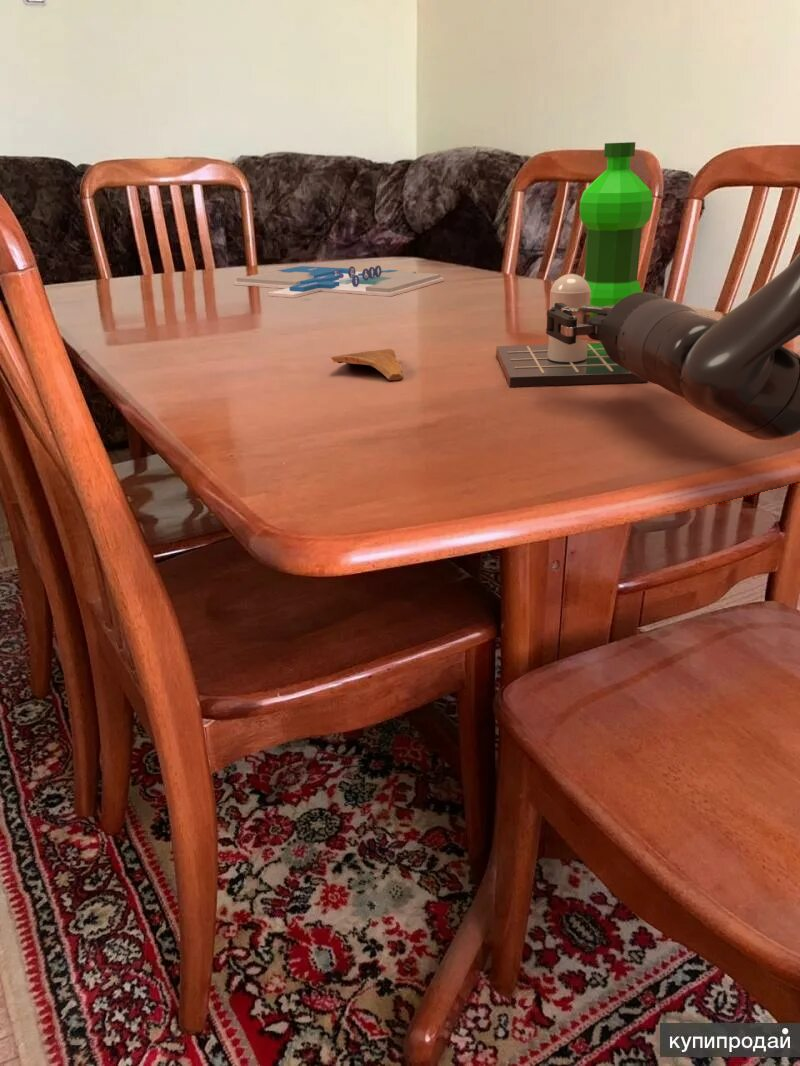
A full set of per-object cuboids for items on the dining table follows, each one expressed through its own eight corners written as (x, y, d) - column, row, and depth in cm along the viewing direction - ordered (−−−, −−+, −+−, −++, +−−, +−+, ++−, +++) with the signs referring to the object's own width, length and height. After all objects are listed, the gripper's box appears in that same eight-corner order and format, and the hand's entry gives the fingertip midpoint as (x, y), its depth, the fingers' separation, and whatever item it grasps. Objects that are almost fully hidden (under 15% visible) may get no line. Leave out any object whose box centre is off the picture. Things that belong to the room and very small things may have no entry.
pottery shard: (400, 382, 100) (400, 362, 99) (326, 381, 101) (324, 361, 100) (413, 361, 109) (413, 342, 108) (345, 360, 110) (344, 341, 109)
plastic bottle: (636, 315, 131) (650, 141, 121) (645, 328, 122) (662, 141, 111) (571, 315, 132) (580, 143, 122) (576, 329, 123) (586, 144, 112)
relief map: (366, 303, 149) (365, 283, 148) (206, 290, 169) (204, 272, 168) (449, 279, 172) (449, 261, 170) (299, 270, 192) (298, 254, 190)
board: (616, 351, 110) (617, 341, 110) (648, 382, 96) (649, 371, 95) (496, 354, 110) (496, 345, 110) (509, 387, 96) (510, 375, 95)
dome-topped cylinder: (582, 352, 104) (587, 270, 100) (590, 361, 100) (595, 276, 96) (544, 353, 105) (547, 271, 100) (550, 362, 100) (554, 277, 96)
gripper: (731, 294, 78) (655, 271, 92) (587, 304, 76) (533, 279, 91) (721, 372, 81) (649, 338, 96) (582, 383, 79) (531, 347, 94)
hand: (593, 309), depth 93 cm, fingers open, 8 cm apart
